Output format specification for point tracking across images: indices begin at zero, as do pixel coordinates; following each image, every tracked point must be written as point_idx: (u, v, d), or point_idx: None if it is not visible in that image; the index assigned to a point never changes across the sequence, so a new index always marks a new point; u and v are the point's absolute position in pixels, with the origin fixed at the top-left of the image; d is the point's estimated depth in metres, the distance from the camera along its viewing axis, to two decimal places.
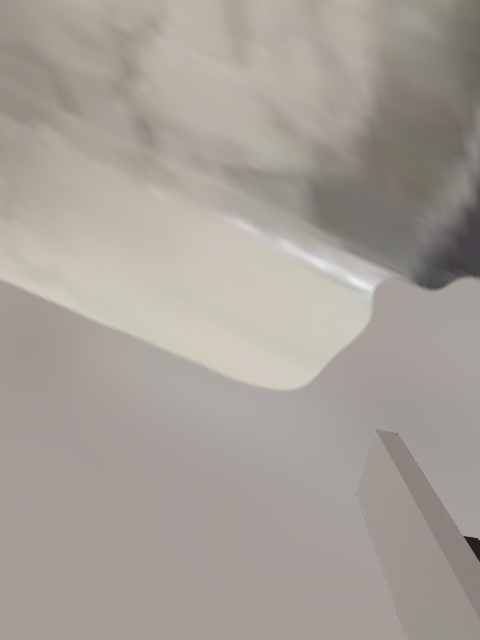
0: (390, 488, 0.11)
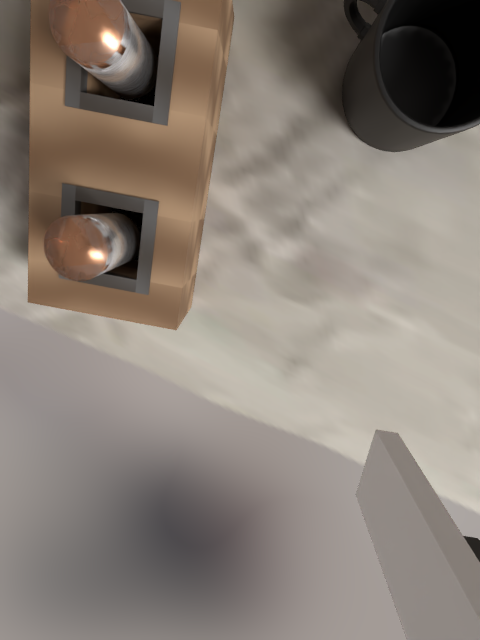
0: (390, 488, 0.11)
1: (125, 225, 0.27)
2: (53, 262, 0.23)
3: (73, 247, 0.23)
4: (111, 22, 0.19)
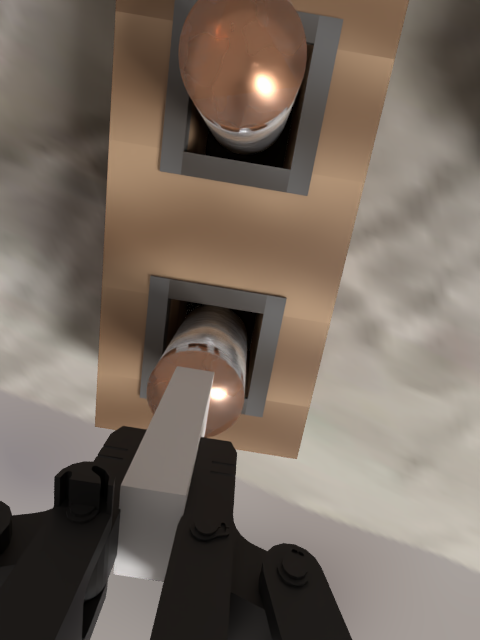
0: None
1: (238, 331, 0.19)
2: None
3: None
4: (284, 60, 0.12)
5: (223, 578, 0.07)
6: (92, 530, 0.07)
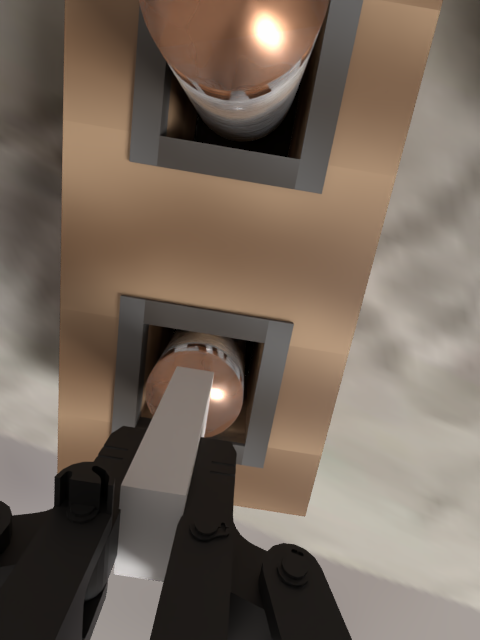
0: None
1: None
2: None
3: None
4: None
5: (223, 578, 0.07)
6: (92, 530, 0.07)
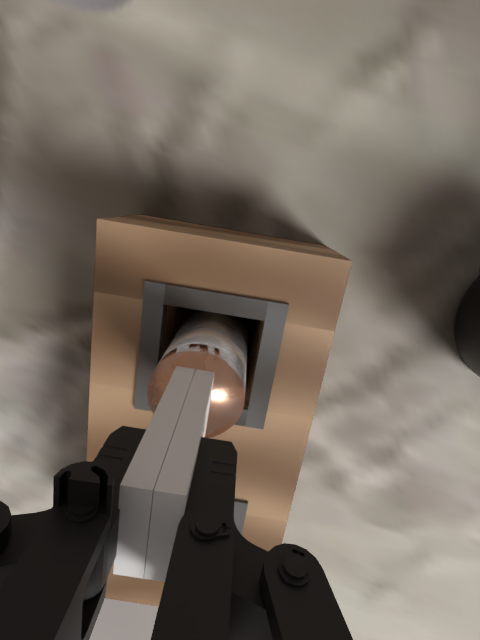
0: None
1: None
2: None
3: None
4: (227, 399, 0.15)
5: (224, 578, 0.07)
6: (91, 530, 0.07)
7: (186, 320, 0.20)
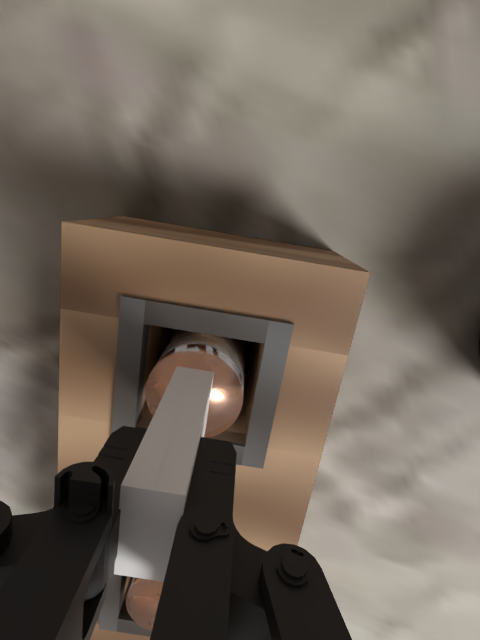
0: None
1: None
2: (137, 617, 0.19)
3: None
4: (226, 399, 0.15)
5: (223, 578, 0.07)
6: (92, 530, 0.07)
7: None
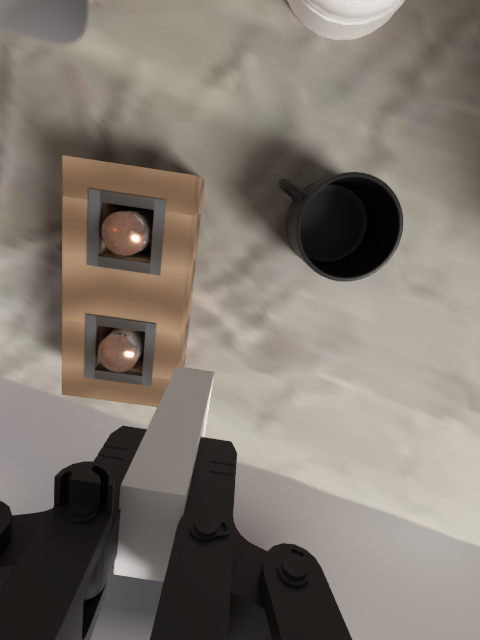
0: None
1: None
2: (103, 362, 0.38)
3: (116, 353, 0.38)
4: (137, 235, 0.34)
5: (223, 578, 0.07)
6: (92, 530, 0.07)
7: None
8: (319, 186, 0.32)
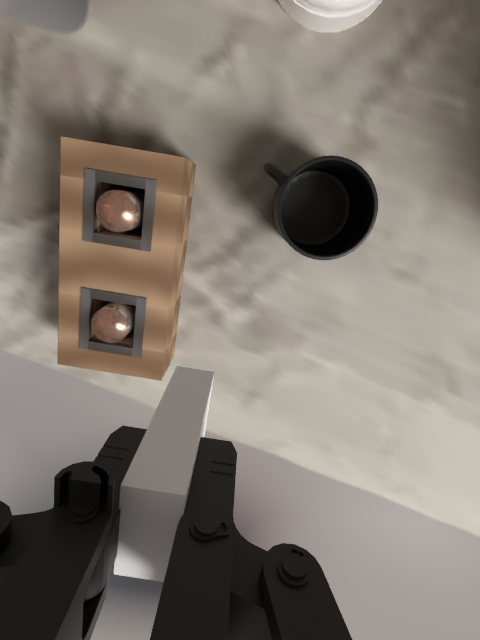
0: None
1: None
2: (96, 333, 0.41)
3: (108, 324, 0.40)
4: (129, 212, 0.37)
5: (223, 578, 0.07)
6: (92, 530, 0.07)
7: None
8: (299, 168, 0.34)
